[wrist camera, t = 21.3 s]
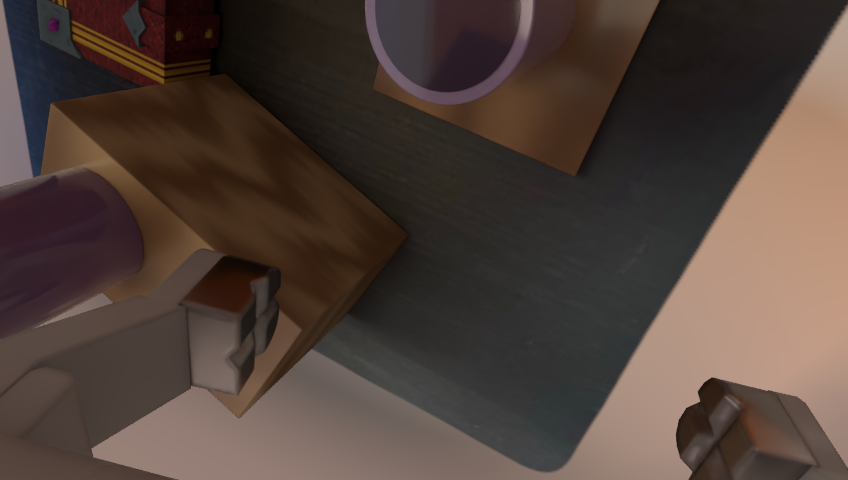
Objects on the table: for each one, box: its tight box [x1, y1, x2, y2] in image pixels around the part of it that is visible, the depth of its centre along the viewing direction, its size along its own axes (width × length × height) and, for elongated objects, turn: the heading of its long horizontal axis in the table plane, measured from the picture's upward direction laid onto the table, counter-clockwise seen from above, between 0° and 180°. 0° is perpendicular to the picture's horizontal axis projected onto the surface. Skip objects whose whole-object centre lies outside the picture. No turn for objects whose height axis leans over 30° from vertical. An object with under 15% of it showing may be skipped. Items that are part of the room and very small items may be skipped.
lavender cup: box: [365, 0, 577, 105], centre depth 22 cm, size 7×7×9 cm
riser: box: [41, 74, 408, 418], centre depth 32 cm, size 17×10×12 cm, turn 55°
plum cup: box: [0, 167, 144, 339], centre depth 24 cm, size 7×7×9 cm
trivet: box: [373, 0, 660, 176], centre depth 26 cm, size 13×13×1 cm
